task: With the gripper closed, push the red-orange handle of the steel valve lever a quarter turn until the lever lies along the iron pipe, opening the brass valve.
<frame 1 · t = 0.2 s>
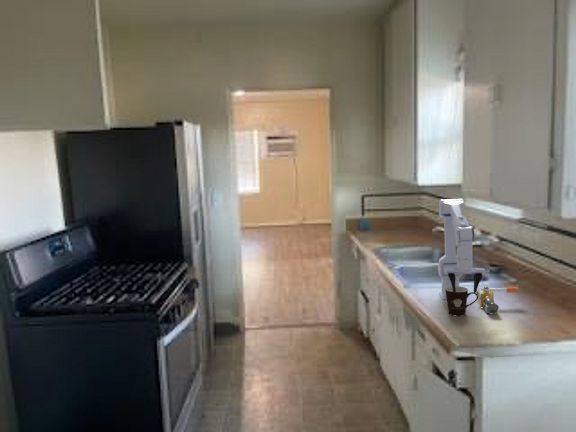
hand: (464, 292, 199), 10 cm above the worktop, tool pointing down, fingers open, 7 cm apart
valve lever: (500, 289, 211), point 7 cm above the worktop, hinge at 0.0°
coffee mug: (460, 314, 205), on the worktop
pipe valve: (485, 306, 213), on the worktop
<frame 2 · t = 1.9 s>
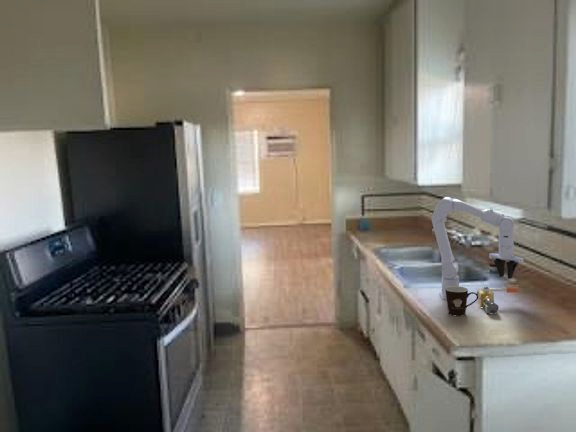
hand: (505, 277, 216), 10 cm above the worktop, tool pointing down, fingers open, 3 cm apart
nothing on the worktop moved.
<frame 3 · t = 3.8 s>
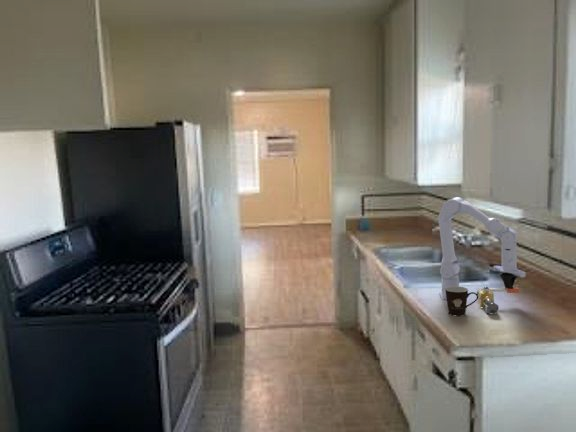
hand: (508, 290, 213), 6 cm above the worktop, tool pointing down, fingers closed
valve lever: (500, 289, 211), point 7 cm above the worktop, hinge at 3.6°, touching gripper
everything else where it was.
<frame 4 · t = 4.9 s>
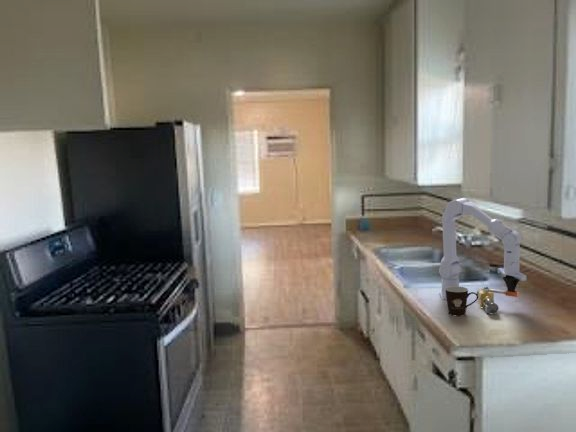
hand: (511, 294, 208), 6 cm above the worktop, tool pointing down, fingers closed
valve lever: (500, 291, 208), point 7 cm above the worktop, hinge at 31.3°, touching gripper
everything else where it was.
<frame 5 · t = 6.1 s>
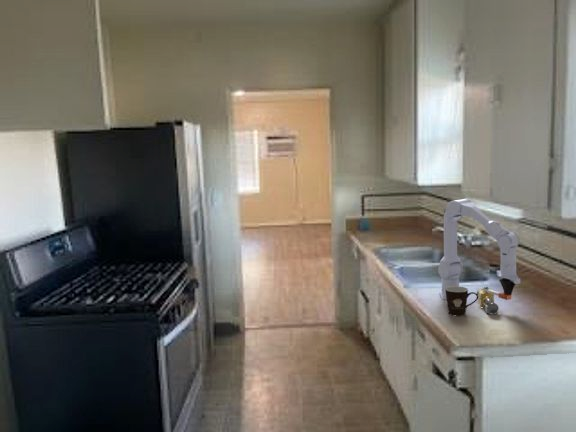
hand: (508, 297, 204), 6 cm above the worktop, tool pointing down, fingers closed, pressing on valve lever
valve lever: (496, 292, 207), point 7 cm above the worktop, hinge at 60.6°, touching gripper
everything else where it was.
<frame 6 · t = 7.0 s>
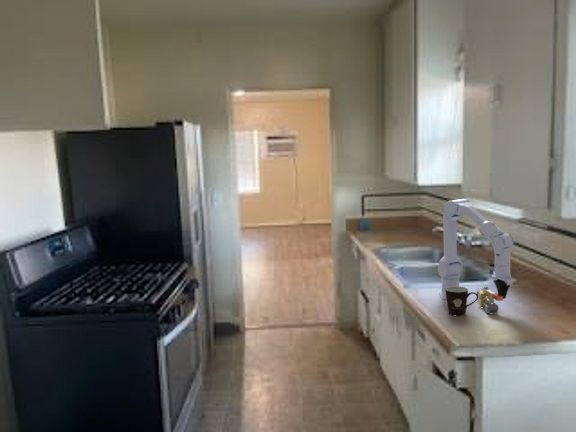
hand: (502, 298, 203), 6 cm above the worktop, tool pointing down, fingers closed, pressing on valve lever
valve lever: (492, 293, 206), point 7 cm above the worktop, hinge at 78.7°, touching gripper
everything else where it was.
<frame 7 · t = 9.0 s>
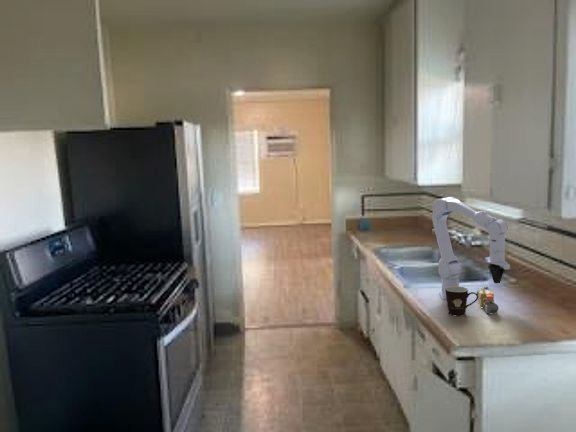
hand: (496, 282, 209), 10 cm above the worktop, tool pointing down, fingers closed
valve lever: (487, 293, 206), point 7 cm above the worktop, hinge at 96.1°
everything else where it was.
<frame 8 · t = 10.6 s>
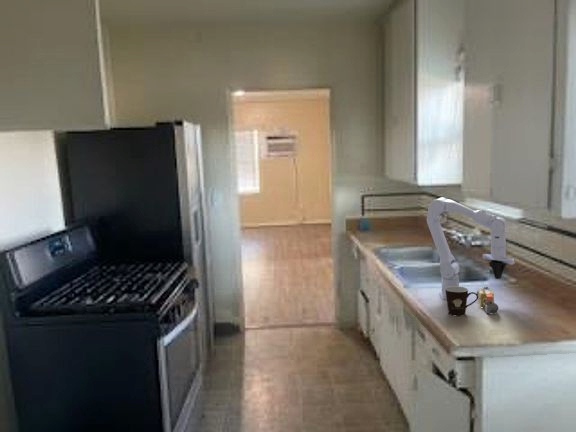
hand: (498, 278, 215), 10 cm above the worktop, tool pointing down, fingers closed
nothing on the worktop moved.
at the end: valve lever at +96° (first picture: +0°); coffee mug moved 0.2 cm from its start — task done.
